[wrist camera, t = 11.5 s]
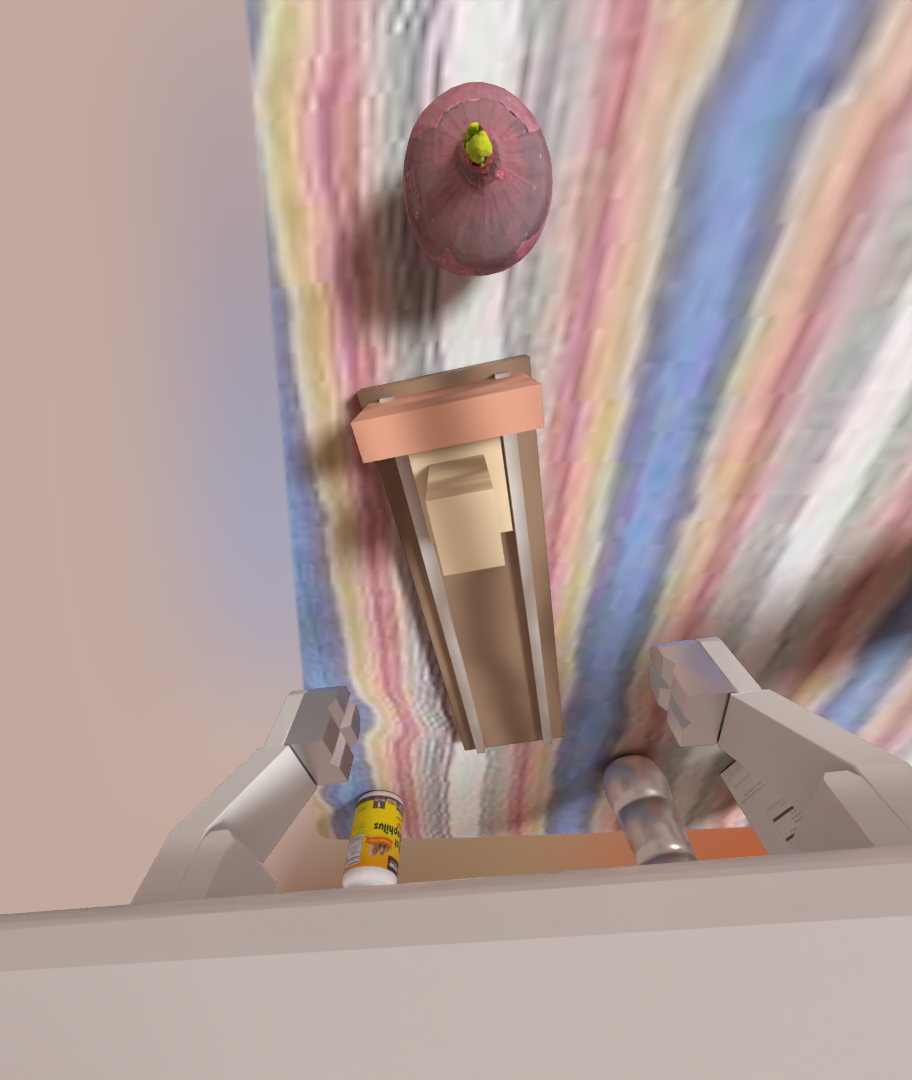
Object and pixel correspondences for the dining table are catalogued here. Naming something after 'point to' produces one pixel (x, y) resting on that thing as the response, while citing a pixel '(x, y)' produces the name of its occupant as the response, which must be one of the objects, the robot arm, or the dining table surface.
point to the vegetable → (477, 180)
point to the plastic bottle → (646, 811)
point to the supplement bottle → (374, 841)
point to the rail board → (488, 594)
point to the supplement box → (764, 810)
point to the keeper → (464, 503)
